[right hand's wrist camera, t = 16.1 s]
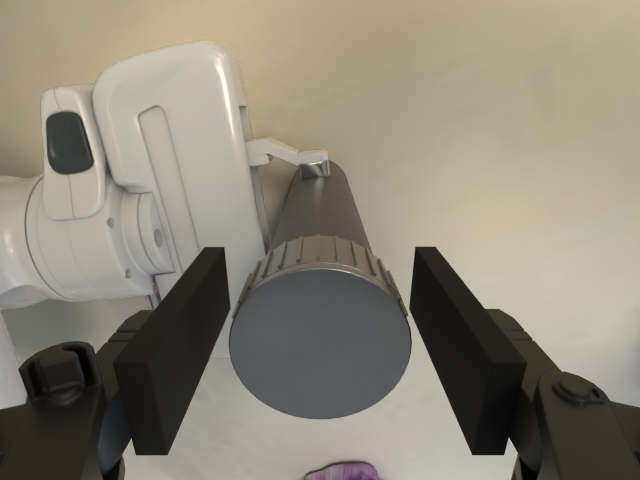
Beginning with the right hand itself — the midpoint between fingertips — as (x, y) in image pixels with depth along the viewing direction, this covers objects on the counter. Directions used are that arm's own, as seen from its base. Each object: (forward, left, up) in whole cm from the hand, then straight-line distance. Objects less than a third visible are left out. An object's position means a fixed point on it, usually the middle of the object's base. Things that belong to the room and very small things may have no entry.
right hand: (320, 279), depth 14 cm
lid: (0, 0, +4) cm, 4 cm away
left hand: (-1, +1, -10) cm, 10 cm away
